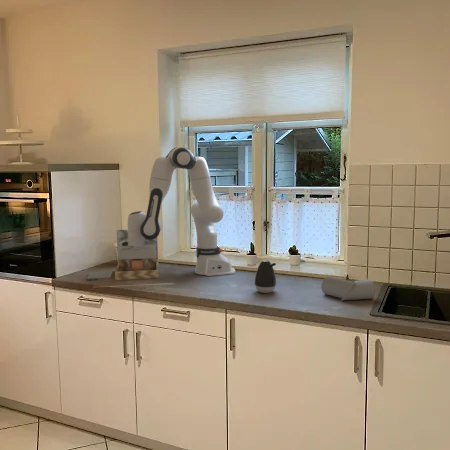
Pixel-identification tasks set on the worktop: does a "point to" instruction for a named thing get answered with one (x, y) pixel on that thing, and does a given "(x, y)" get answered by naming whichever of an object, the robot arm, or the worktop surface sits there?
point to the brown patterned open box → (123, 267)
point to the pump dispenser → (265, 277)
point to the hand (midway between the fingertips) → (137, 267)
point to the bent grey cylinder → (348, 288)
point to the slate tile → (99, 275)
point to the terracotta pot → (137, 265)
